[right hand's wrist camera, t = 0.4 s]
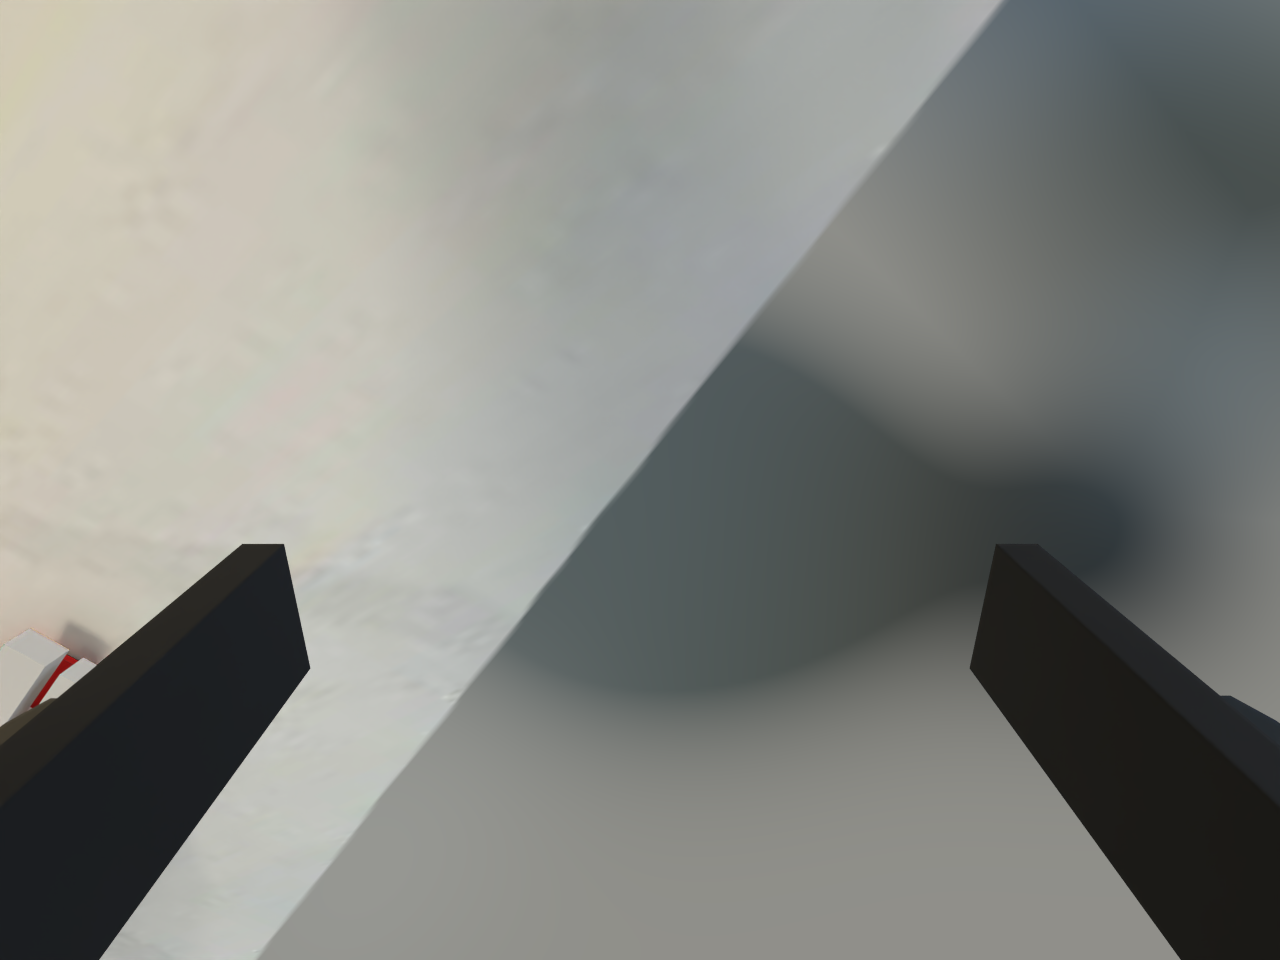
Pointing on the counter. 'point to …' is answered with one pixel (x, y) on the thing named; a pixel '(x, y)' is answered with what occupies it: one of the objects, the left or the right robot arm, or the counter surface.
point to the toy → (35, 672)
